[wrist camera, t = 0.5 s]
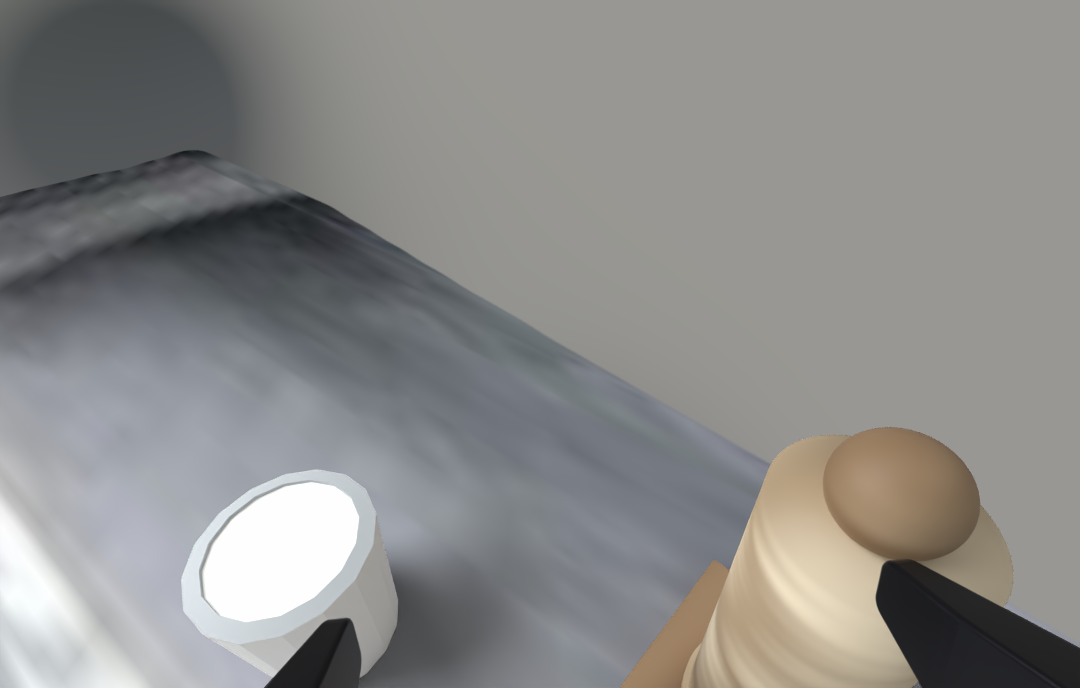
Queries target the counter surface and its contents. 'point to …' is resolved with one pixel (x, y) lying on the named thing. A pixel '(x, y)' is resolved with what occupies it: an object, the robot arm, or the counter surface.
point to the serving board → (680, 635)
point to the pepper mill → (844, 561)
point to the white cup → (292, 570)
